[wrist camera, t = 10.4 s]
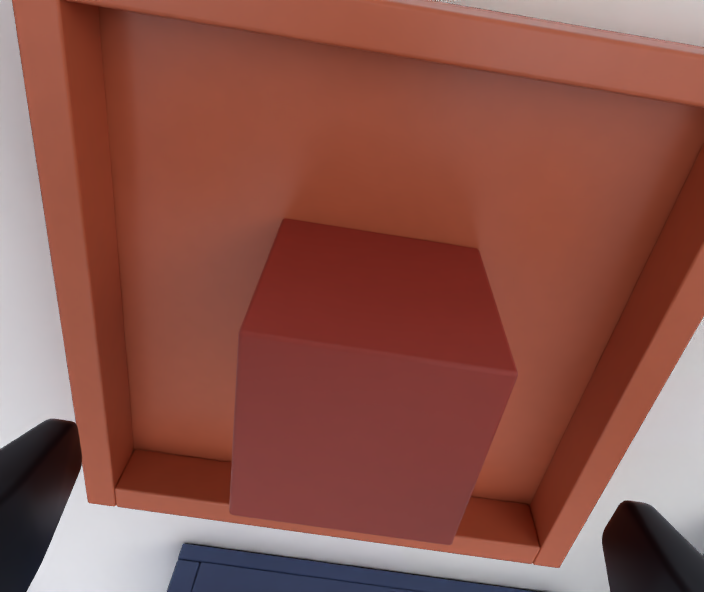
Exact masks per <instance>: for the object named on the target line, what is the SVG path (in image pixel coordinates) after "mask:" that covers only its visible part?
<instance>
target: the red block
mask: <svg viewBox="0 0 704 592" xmlns="http://www.w3.org/2000/svg"><path fill="white" fill-rule="evenodd" d="M517 377H518V371H517V368H516V365H515V362H514V359H513V355H512V352H511V349H510V346H509V343H508V340H507V336H506V333H505V330H504V327H503V324H502V321H501V317H500V314H499V311H498V308H497V305H496V302H495V299H494V295H493V292H492V289H491V286H490V283H489V280H488V276H487V273H486V270H485V267H484V264H483V261H482V258H481V254H480V251H479V250H478V249H476V248H471V247H464V246H458V245H452V244H445V243H439V242H433V241H426V240H420V239H414V238H407V237H401V236H395V235H388V234H382V233H376V232H369V231H363V230H357V229H350V228H344V227H338V226H331V225H325V224H319V223H312V222H306V221H300V220H294V219H287V218H285V219H283V220H282V222H281V224H280V227H279V230H278V232H277V235H276V237H275V240H274V242H273V245H272V248H271V250H270V253H269V255H268V258H267V261H266V263H265V266H264V268H263V271H262V273H261V276H260V279H259V281H258V284H257V286H256V289H255V292H254V294H253V297H252V299H251V302H250V304H249V307H248V310H247V312H246V315H245V317H244V320H243V322H242V325H241V328H240V330H239V333H238V350H237V369H236V388H235V408H234V427H233V446H232V465H231V484H230V503H229V512H230V514H231V515H235V516H242V517H250V518H257V519H264V520H271V521H278V522H285V523H293V524H300V525H307V526H314V527H321V528H328V529H336V530H343V531H350V532H357V533H364V534H371V535H379V536H386V537H393V538H400V539H407V540H414V541H422V542H429V543H436V544H443V545H451V544H452V543H453V540H454V538H455V535H456V532H457V530H458V527H459V525H460V522H461V520H462V517H463V515H464V512H465V510H466V507H467V504H468V502H469V499H470V497H471V494H472V492H473V489H474V487H475V484H476V482H477V479H478V476H479V474H480V471H481V469H482V466H483V464H484V461H485V459H486V456H487V454H488V451H489V448H490V446H491V443H492V441H493V438H494V436H495V433H496V431H497V428H498V426H499V423H500V421H501V418H502V415H503V413H504V410H505V408H506V405H507V403H508V400H509V398H510V395H511V393H512V390H513V387H514V385H515V382H516V380H517Z"/></svg>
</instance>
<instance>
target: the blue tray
mask: <svg viewBox="0 0 704 592" xmlns="http://www.w3.org/2000/svg"><path fill="white" fill-rule="evenodd" d="M167 592H535V591H528V590H521V589H513V588H506V587H499V586H491V585H484V584H477V583H469V582H462V581H455V580H447V579H440V578H433V577H426V576H418V575H411V574H404V573H396V572H389V571H382V570H374V569H367V568H360V567H352V566H345V565H338V564H330V563H323V562H316V561H308V560H301V559H294V558H286V557H279V556H272V555H264V554H257V553H250V552H242V551H235V550H228V549H220V548H213V547H206V546H199V545H191V544H183V545H182V548H181V551H180V554H179V557H178V561H177V563H176V566H175V569H174V572H173V575H172V578H171V581H170V584H169V586H168V589H167Z"/></svg>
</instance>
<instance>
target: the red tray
mask: <svg viewBox="0 0 704 592" xmlns="http://www.w3.org/2000/svg"><path fill="white" fill-rule="evenodd" d="M12 4H13V10H14V17H15V23H16V30H17V37H18V43H19V50H20V56H21V63H22V70H23V76H24V83H25V89H26V96H27V103H28V109H29V116H30V122H31V129H32V136H33V142H34V149H35V155H36V162H37V169H38V175H39V182H40V188H41V195H42V202H43V208H44V215H45V221H46V228H47V235H48V241H49V248H50V254H51V261H52V268H53V274H54V281H55V287H56V294H57V301H58V307H59V314H60V320H61V327H62V334H63V340H64V347H65V353H66V360H67V367H68V373H69V380H70V386H71V393H72V400H73V406H74V413H75V419H76V425H77V427H78V431H79V438H80V445H81V451H82V466H83V472H84V479H85V485H86V492H87V499H88V502H89V503H93V504H100V505H107V506H116V504H117V506H118V507H123V508H130V509H137V510H144V511H151V512H159V513H166V514H173V515H180V516H188V517H195V518H202V519H209V520H217V521H224V522H231V523H238V524H246V525H253V526H260V527H267V528H274V529H282V530H289V531H296V532H303V533H311V534H318V535H325V536H332V537H340V538H347V539H354V540H361V541H369V542H376V543H383V544H390V545H397V546H405V547H412V548H419V549H426V550H434V551H441V552H448V553H455V554H463V555H470V556H477V557H484V558H492V559H499V560H506V561H513V562H520V563H528V564H532V563H533V564H534V565H541V566H548V567H555V568H559V567H560V566H561V564H562V562H563V560H564V559H565V557H566V555H567V553H568V552H569V550H570V548H571V546H572V545H573V543H574V541H575V539H576V538H577V536H578V534H579V533H580V531H581V529H582V527H583V526H584V524H585V522H586V520H587V519H588V517H589V515H590V513H591V512H592V510H593V508H594V506H595V505H596V503H597V501H598V499H599V498H600V496H601V494H602V492H603V491H604V489H605V487H606V486H607V484H608V482H609V480H610V479H611V477H612V475H613V473H614V472H615V470H616V468H617V466H618V465H619V463H620V461H621V459H622V458H623V456H624V454H625V452H626V451H627V449H628V447H629V445H630V444H631V442H632V440H633V438H634V437H635V435H636V433H637V432H638V430H639V428H640V426H641V425H642V423H643V421H644V419H645V418H646V416H647V414H648V412H649V411H650V409H651V407H652V405H653V404H654V402H655V400H656V398H657V397H658V395H659V393H660V391H661V390H662V388H663V386H664V384H665V383H666V381H667V379H668V378H669V376H670V374H671V372H672V371H673V369H674V367H675V365H676V364H677V362H678V360H679V358H680V357H681V355H682V353H683V351H684V350H685V348H686V346H687V344H688V343H689V341H690V339H691V337H692V336H693V334H694V332H695V331H696V329H697V327H698V325H699V324H700V322H701V320H702V318H703V317H704V47H700V46H694V45H688V44H683V43H677V42H671V41H665V40H659V39H653V38H648V37H642V36H636V35H630V34H624V33H618V32H613V31H607V30H601V29H595V28H589V27H583V26H578V25H572V24H566V23H560V22H554V21H548V20H543V19H537V18H531V17H525V16H519V15H513V14H508V13H502V12H496V11H490V10H484V9H478V8H473V7H467V6H461V5H455V4H449V3H443V2H438V1H432V0H12ZM285 218H287V219H294V220H300V221H306V222H312V223H319V224H325V225H331V226H338V227H344V228H350V229H357V230H363V231H369V232H376V233H382V234H388V235H395V236H401V237H407V238H414V239H420V240H426V241H433V242H439V243H445V244H452V245H458V246H464V247H471V248H476V249H478V250H479V251H480V254H481V258H482V261H483V264H484V267H485V270H486V273H487V276H488V280H489V283H490V286H491V289H492V292H493V295H494V299H495V302H496V305H497V308H498V311H499V314H500V317H501V321H502V324H503V327H504V330H505V333H506V336H507V340H508V343H509V346H510V349H511V352H512V355H513V359H514V362H515V365H516V368H517V371H518V377H517V380H516V382H515V385H514V387H513V390H512V393H511V395H510V398H509V400H508V403H507V405H506V408H505V410H504V413H503V415H502V418H501V421H500V423H499V426H498V428H497V431H496V433H495V436H494V438H493V441H492V443H491V446H490V448H489V451H488V454H487V456H486V459H485V461H484V464H483V466H482V469H481V471H480V474H479V476H478V479H477V482H476V484H475V487H474V489H473V492H472V494H471V497H470V499H469V502H468V504H467V507H466V510H465V512H464V515H463V517H462V520H461V522H460V525H459V527H458V530H457V532H456V535H455V538H454V540H453V543H452V544H451V545H443V544H436V543H429V542H422V541H414V540H407V539H400V538H393V537H386V536H379V535H371V534H364V533H357V532H350V531H343V530H336V529H328V528H321V527H314V526H307V525H300V524H293V523H285V522H278V521H271V520H264V519H257V518H250V517H242V516H235V515H231V514H230V512H229V503H230V484H231V465H232V446H233V427H234V408H235V388H236V369H237V350H238V333H239V330H240V328H241V325H242V322H243V320H244V317H245V315H246V312H247V310H248V307H249V304H250V302H251V299H252V297H253V294H254V292H255V289H256V286H257V284H258V281H259V279H260V276H261V273H262V271H263V268H264V266H265V263H266V261H267V258H268V255H269V253H270V250H271V248H272V245H273V242H274V240H275V237H276V235H277V232H278V230H279V227H280V224H281V222H282V220H283V219H285Z"/></svg>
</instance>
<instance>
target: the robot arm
mask: <svg viewBox="0 0 704 592" xmlns="http://www.w3.org/2000/svg"><path fill="white" fill-rule="evenodd" d="M81 464H82V451H81V445H80V438H79V431H78V427H77V425H76V423H75V422H72V421H66V420H59V419H48V420H46V421H44V422H42V423H41V424H39V425H37V426H36V427H34V428H33V429H31V430H30V431H28V432H26V433H25V434H23V435H22V436H20V437H19V438H17V439H15V440H14V441H12V442H11V443H9V444H7V445H6V446H4V447H3V448H1V449H0V592H26V591H27V590H28V588H29V586H30V584H31V582H32V580H33V578H34V577H35V575H36V573H37V571H38V569H39V567H40V565H41V563H42V561H43V558H44V556H45V554H46V552H47V549H48V547H49V545H50V542H51V540H52V537H53V535H54V532H55V530H56V528H57V525H58V523H59V520H60V518H61V515H62V513H63V511H64V508H65V506H66V503H67V501H68V498H69V496H70V494H71V491H72V489H73V486H74V484H75V481H76V479H77V477H78V474H79V472H80V469H81ZM602 545H603V551H604V557H605V563H606V569H607V575H608V580H609V586H610V592H704V557H703V556H702V555H701V554H700V553H699V552H698V551H697V550H696V549H695V548H694V547H693V546H692V545H691V544H690V543H689V542H688V541H687V540H686V539H685V538H684V537H683V536H682V535H681V534H680V533H679V532H678V531H677V530H676V529H675V528H674V527H673V526H672V525H671V524H670V523H669V522H668V521H667V520H666V519H665V518H664V517H663V516H662V515H661V514H660V513H659V512H658V511H657V510H656V509H654V508H653V507H652V506H651V505H649V504H647V503H642V502H635V501H623V502H622V503H620V505H619V506H618V508H617V509H616V511H615V512H614V514H613V516H612V517H611V519H610V521H609V522H608V524H607V526H606V527H605V529H604V532H603V536H602Z"/></svg>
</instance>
